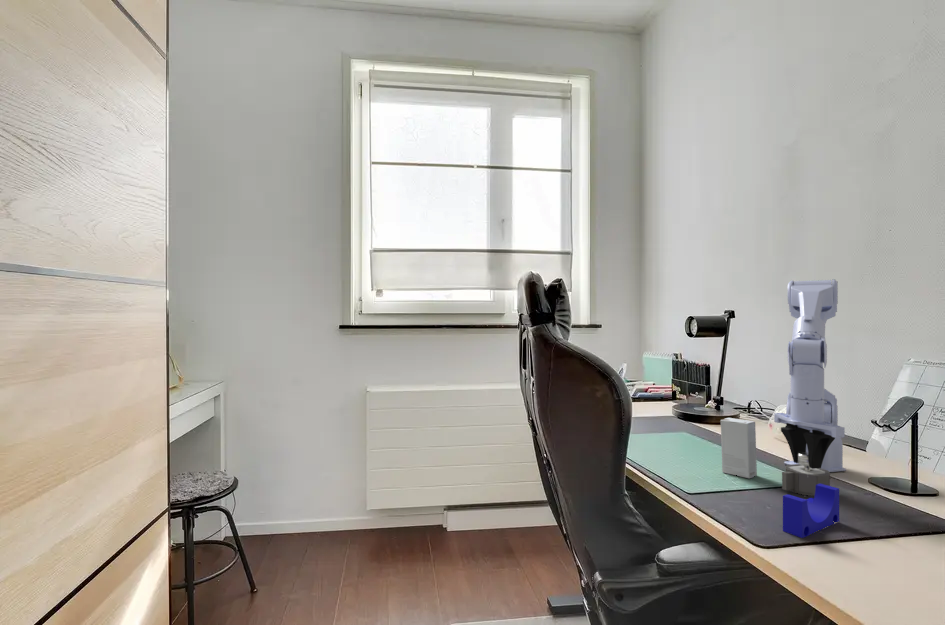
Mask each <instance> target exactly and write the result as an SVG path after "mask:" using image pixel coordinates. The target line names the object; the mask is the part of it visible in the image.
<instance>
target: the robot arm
mask: <svg viewBox="0 0 945 625" xmlns="http://www.w3.org/2000/svg"><path fill="white" fill-rule="evenodd" d="M838 292H839V286H838V281H837V280H836V279H834V278H833V279H821V280H820V279H819V280H815V279H814V280H790V281H789V282H788V283H787V295H786V296H787V304H788V309H789V313H790V316H791V317H792V318H794V319H795V320H794V322H793V326H792V334H791V336H792V337H791V341H788V344H787V364H788V371H789V372H788V373H789V376H790V391H789V392H788V394H787V400H786V401H787V402H786V406H785V407H786V408H785V409H786V410H785V412H786V413H784V412H775V413H774V415H773V418H774V423H777V424H780V423H781V424H784V425H785V426H782V427H780V431H781V433H782V435H783V436H784V438H785V440H786V442H787V444H788V447H789V450H790V453H791V456H792V460H787V461H783V464H785V465H792V464H798V452H808V458H809V466H810V468H812V469H815V468H822V469H825V470H828V471H829V473H835V472H846V471H847V468H846V467H843V465H844V464H843V461H844V460H843V457H844V456H843V452H844V451H843V440H842V439H843V438H845V435H846V433H845V431H846V430H845V429H846V428H845V426H840V425H838V424H839V423H838V420H839V418H838V415H839V414H838V411H839V410H838V409H839V408H838V399H837V398H836V395H835V394H833V393H832V392H830V391H829V390H827V389H826V388H825V368H826V367H827V363H828V345H827V341H826V323H827V321H828V320H830V319H832V318H835V317H836V316H837V314H836V313H837V312H838V303H839V302H838V299H839V296H838Z"/></svg>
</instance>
